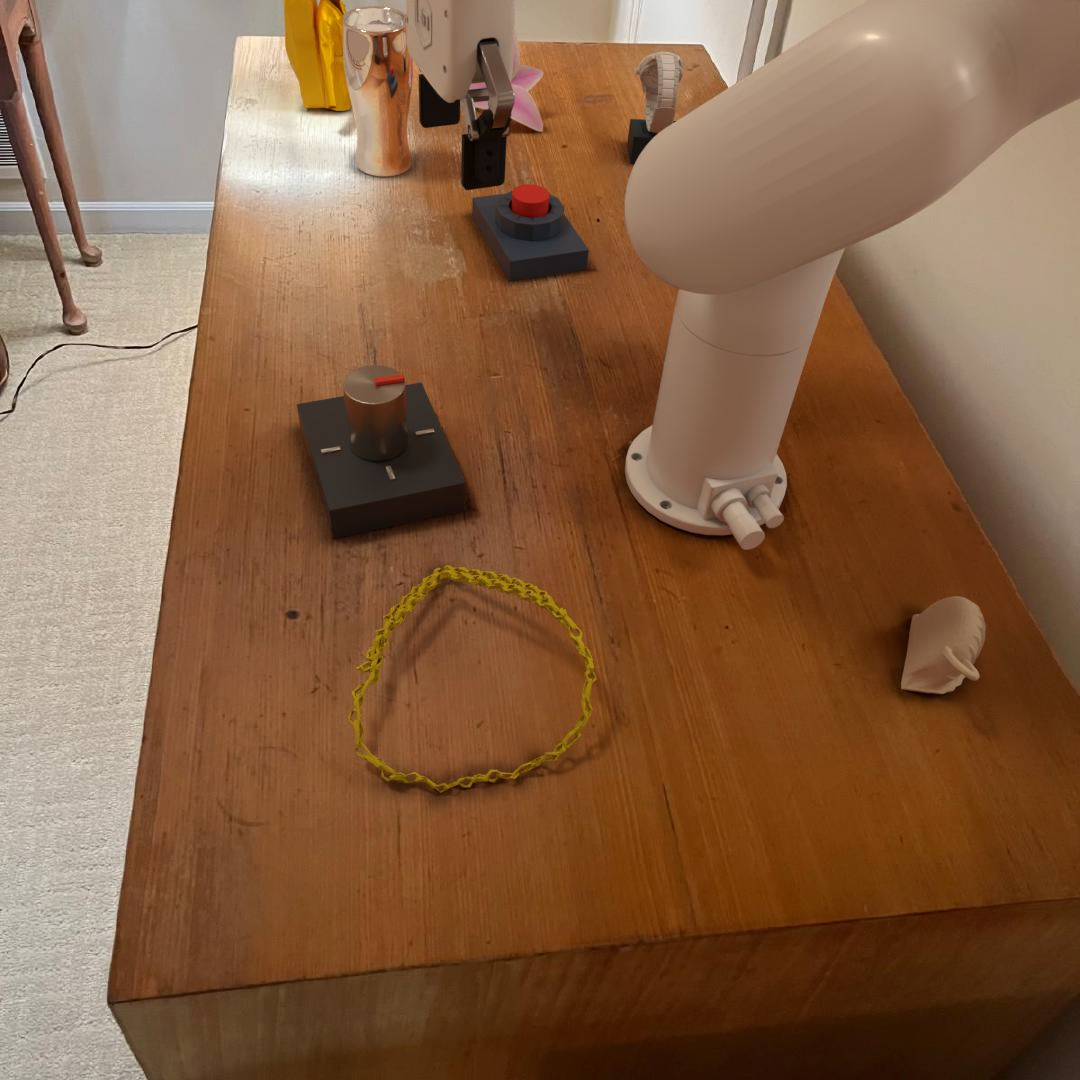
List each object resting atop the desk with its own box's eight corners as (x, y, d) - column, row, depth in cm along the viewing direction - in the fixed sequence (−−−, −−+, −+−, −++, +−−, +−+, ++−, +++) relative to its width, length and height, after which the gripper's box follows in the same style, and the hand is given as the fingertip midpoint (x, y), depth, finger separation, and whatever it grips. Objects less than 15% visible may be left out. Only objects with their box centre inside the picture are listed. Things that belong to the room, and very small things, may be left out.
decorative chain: (438, 570, 72) (429, 527, 69) (635, 635, 68) (636, 593, 64) (313, 760, 63) (295, 721, 59) (531, 851, 58) (526, 815, 55)
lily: (433, 148, 116) (463, 89, 108) (430, 66, 120) (459, 4, 112) (529, 172, 121) (564, 118, 113) (523, 93, 125) (557, 35, 117)
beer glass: (400, 184, 108) (393, 38, 97) (340, 170, 109) (327, 24, 98) (425, 155, 113) (422, 13, 102) (368, 142, 114) (358, 0, 103)
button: (553, 216, 99) (554, 200, 98) (518, 221, 98) (519, 205, 97) (540, 198, 101) (542, 182, 100) (506, 202, 100) (507, 186, 99)
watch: (672, 139, 119) (688, 42, 111) (680, 173, 114) (697, 73, 106) (624, 137, 119) (637, 39, 111) (630, 171, 113) (644, 71, 105)
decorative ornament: (971, 634, 71) (1001, 584, 67) (957, 727, 66) (989, 679, 62) (913, 614, 72) (939, 565, 68) (894, 705, 67) (922, 656, 63)
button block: (586, 269, 99) (590, 232, 97) (509, 281, 97) (511, 244, 94) (544, 207, 107) (547, 171, 104) (471, 217, 105) (472, 180, 102)
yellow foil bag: (353, 137, 115) (337, -83, 99) (282, 134, 114) (254, -87, 98) (363, 69, 127) (350, -136, 111) (299, 66, 126) (276, -141, 110)
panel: (465, 511, 76) (465, 480, 74) (333, 539, 74) (329, 509, 71) (422, 410, 84) (421, 380, 82) (300, 432, 81) (296, 402, 79)
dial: (355, 466, 75) (349, 405, 70) (343, 427, 77) (337, 366, 73) (414, 455, 76) (411, 394, 71) (400, 418, 78) (397, 357, 74)
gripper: (368, -140, 69) (380, 108, 82) (452, -49, 58) (450, 220, 71) (473, -144, 71) (468, 98, 84) (572, -57, 61) (549, 205, 73)
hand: (460, 154), depth 77 cm, fingers open, 9 cm apart
